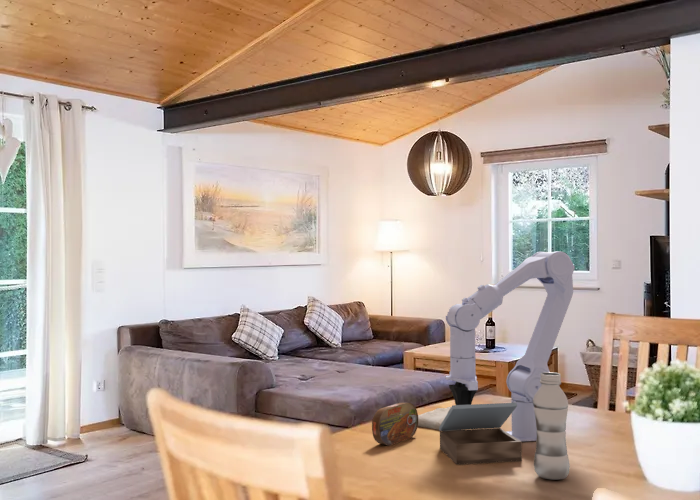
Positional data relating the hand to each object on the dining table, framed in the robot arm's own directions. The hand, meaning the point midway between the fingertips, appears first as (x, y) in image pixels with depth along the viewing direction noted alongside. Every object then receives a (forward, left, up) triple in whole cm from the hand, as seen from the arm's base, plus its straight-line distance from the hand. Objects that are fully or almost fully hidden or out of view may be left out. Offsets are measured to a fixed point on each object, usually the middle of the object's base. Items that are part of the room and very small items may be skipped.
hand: (463, 416), depth 167 cm
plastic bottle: (-8, +29, -6) cm, 30 cm away
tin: (+15, -4, -6) cm, 17 cm away
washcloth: (-3, -19, -7) cm, 21 cm away
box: (0, +11, -6) cm, 12 cm away
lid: (0, +10, +2) cm, 10 cm away
